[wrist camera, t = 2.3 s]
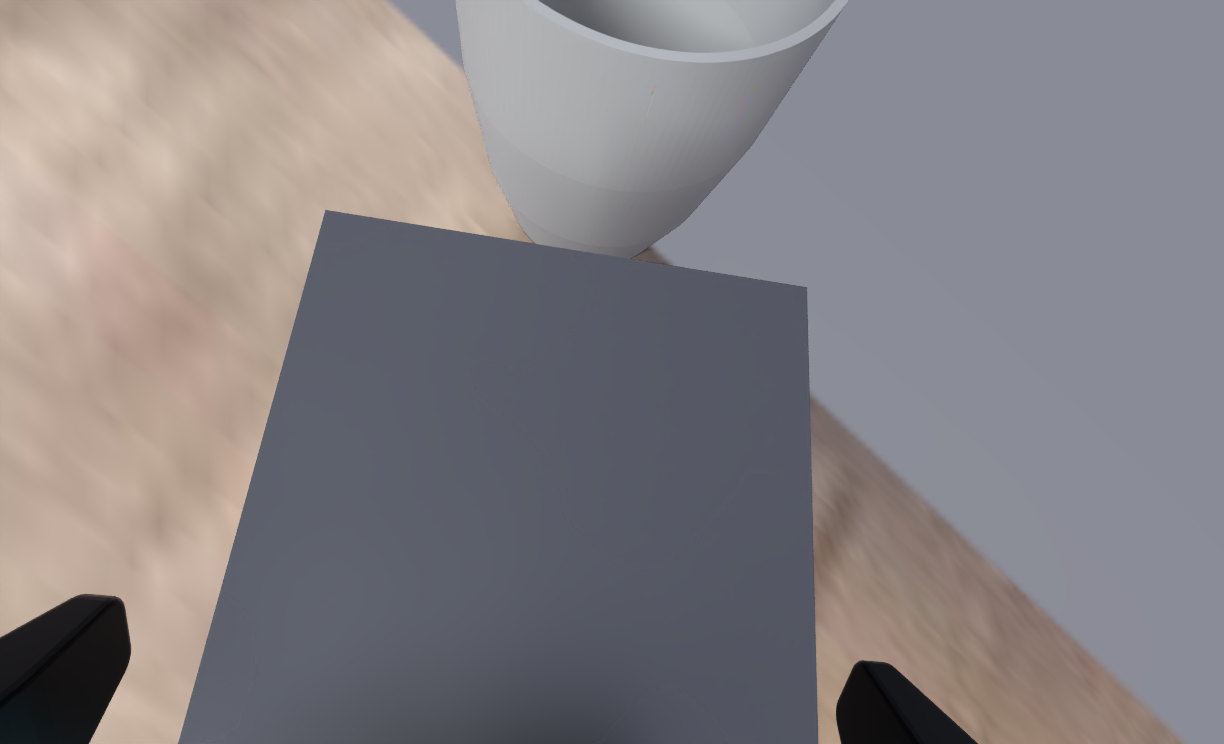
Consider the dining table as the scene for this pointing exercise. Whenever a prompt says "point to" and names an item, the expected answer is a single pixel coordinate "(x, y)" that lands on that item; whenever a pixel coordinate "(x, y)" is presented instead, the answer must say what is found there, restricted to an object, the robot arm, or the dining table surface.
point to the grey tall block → (522, 506)
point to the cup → (626, 105)
